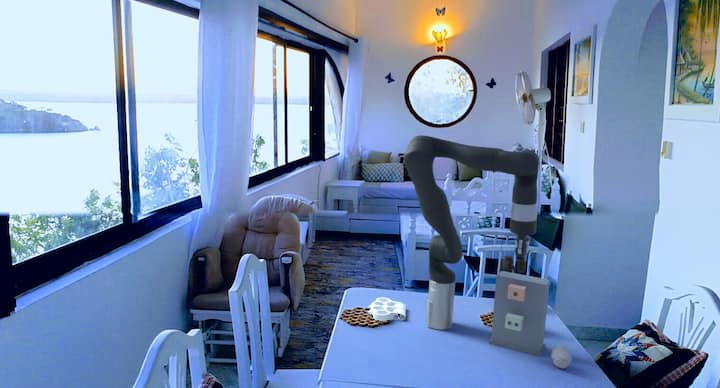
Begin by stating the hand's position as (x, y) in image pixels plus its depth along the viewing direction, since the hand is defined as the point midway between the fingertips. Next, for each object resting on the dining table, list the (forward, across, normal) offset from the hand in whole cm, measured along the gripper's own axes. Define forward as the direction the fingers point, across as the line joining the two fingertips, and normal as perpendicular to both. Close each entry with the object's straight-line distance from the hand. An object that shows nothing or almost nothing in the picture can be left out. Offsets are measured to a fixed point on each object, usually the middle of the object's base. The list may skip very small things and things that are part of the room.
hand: (520, 271), depth 160 cm
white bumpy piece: (+30, +16, +51) cm, 61 cm away
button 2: (+21, +5, +2) cm, 22 cm away
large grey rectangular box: (+31, +11, +2) cm, 33 cm away
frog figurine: (+31, +2, -13) cm, 33 cm away
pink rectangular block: (+11, +5, +2) cm, 13 cm away
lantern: (+33, +48, +11) cm, 59 cm away
